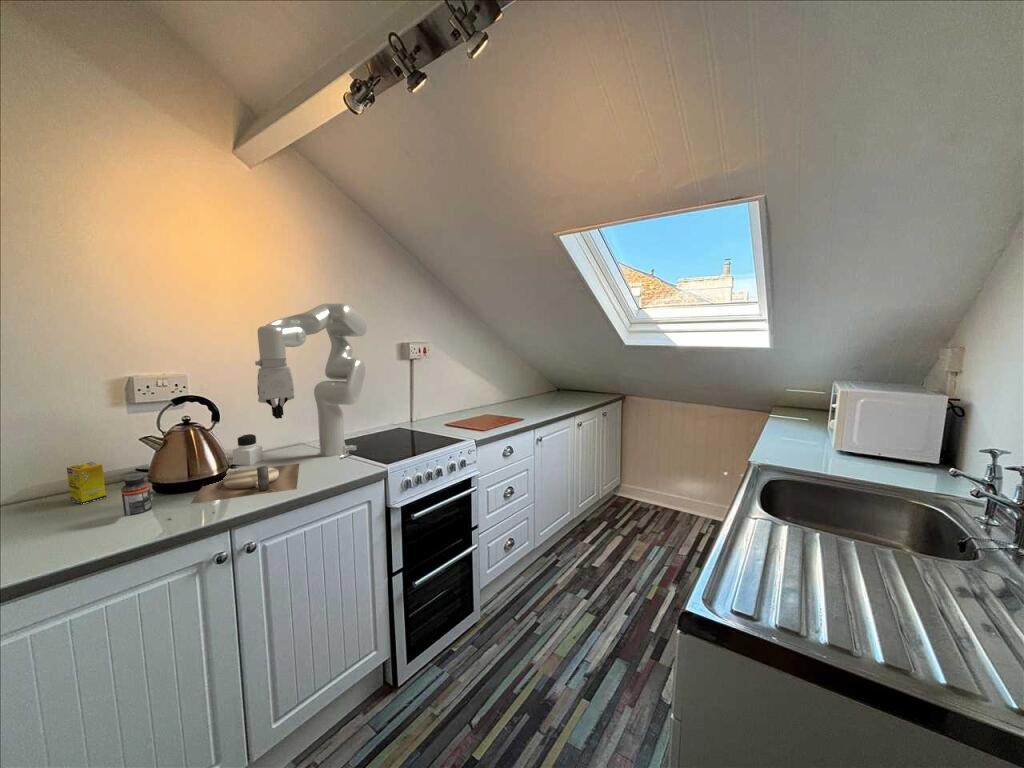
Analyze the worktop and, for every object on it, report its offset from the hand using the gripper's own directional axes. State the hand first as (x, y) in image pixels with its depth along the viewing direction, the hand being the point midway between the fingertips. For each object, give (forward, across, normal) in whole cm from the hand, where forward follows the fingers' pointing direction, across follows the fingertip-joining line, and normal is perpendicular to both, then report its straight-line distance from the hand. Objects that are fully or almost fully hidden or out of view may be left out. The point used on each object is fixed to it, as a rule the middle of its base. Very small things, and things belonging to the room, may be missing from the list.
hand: (278, 417), depth 142 cm
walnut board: (+23, -9, +4) cm, 25 cm away
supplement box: (+23, -48, +24) cm, 59 cm away
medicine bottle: (+24, -5, +28) cm, 37 cm away
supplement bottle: (+22, -38, -1) cm, 44 cm away
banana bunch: (+21, -8, +2) cm, 23 cm away
